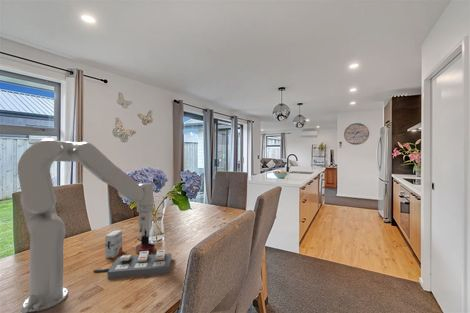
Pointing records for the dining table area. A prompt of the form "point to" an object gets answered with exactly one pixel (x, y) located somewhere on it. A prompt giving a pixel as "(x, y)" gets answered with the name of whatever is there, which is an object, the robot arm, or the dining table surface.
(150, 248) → the dark red apple
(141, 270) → the power strip
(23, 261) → the dining table surface
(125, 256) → the rocker
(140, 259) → the rocker
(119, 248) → the ink box
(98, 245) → the dining table surface
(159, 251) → the rocker
